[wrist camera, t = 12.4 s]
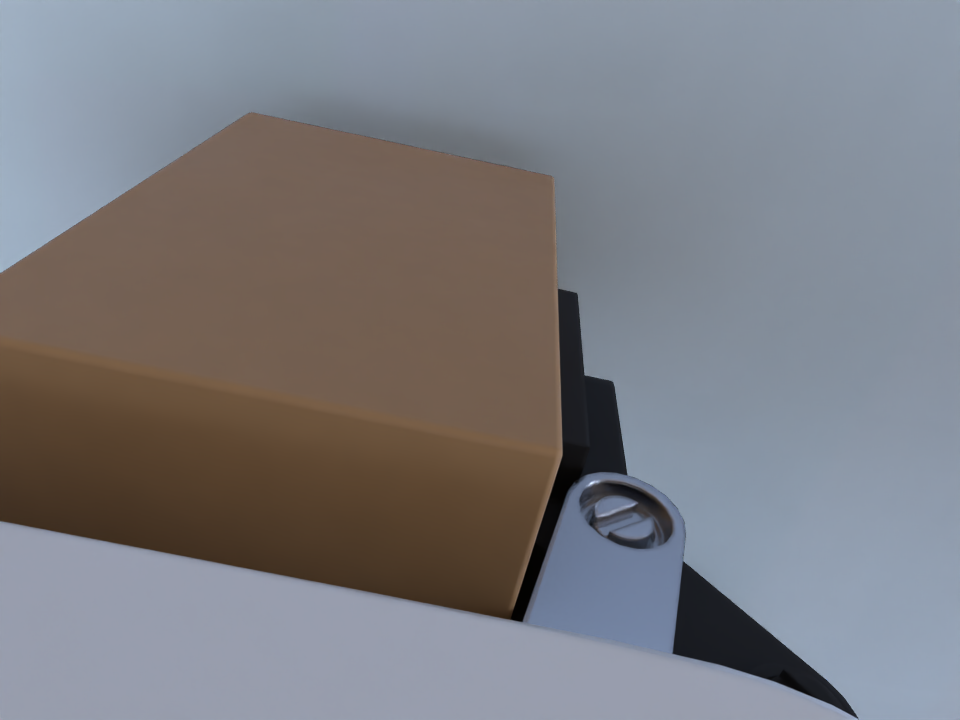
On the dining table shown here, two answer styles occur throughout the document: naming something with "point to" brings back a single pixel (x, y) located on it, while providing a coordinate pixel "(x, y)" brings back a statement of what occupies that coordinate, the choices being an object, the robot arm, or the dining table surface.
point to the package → (296, 366)
